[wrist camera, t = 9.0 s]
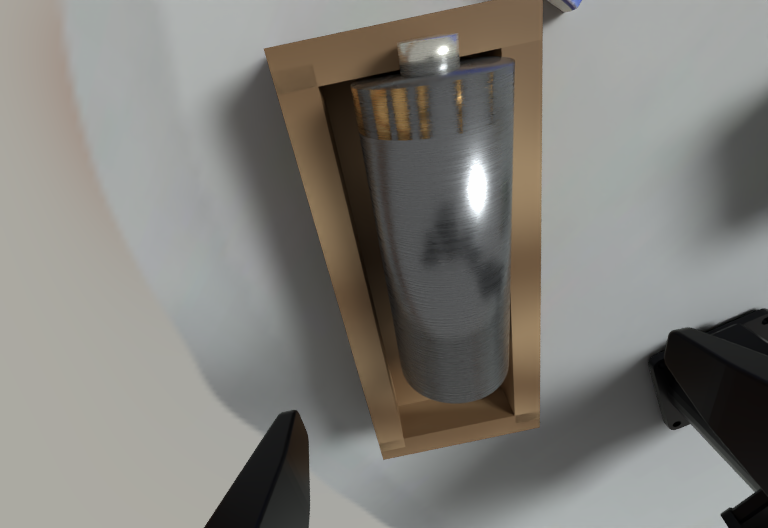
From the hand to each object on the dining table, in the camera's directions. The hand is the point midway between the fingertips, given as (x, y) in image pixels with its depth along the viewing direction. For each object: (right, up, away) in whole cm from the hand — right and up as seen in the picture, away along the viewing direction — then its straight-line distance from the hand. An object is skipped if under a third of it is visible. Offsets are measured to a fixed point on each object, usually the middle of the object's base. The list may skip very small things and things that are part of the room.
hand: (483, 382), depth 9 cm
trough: (-1, +3, +8) cm, 9 cm away
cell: (0, -1, +7) cm, 7 cm away
